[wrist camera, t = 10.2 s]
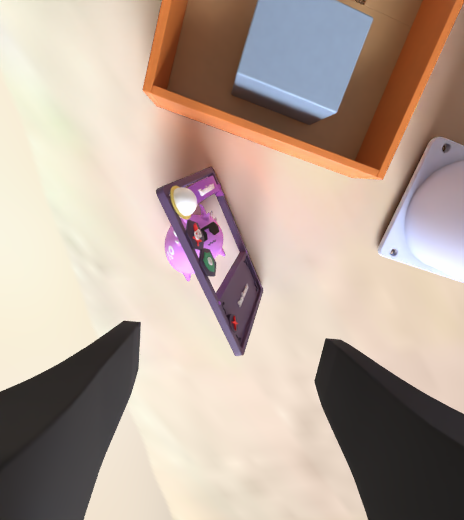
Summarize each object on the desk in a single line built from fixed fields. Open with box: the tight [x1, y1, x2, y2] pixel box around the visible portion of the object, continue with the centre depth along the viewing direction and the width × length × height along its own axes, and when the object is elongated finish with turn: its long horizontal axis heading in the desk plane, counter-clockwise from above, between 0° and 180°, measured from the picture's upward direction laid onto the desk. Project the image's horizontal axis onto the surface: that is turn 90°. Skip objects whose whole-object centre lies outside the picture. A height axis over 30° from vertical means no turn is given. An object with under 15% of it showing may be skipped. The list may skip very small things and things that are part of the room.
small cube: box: [232, 0, 373, 125], centre depth 15 cm, size 5×4×4 cm
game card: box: [156, 167, 263, 356], centre depth 17 cm, size 7×5×9 cm
